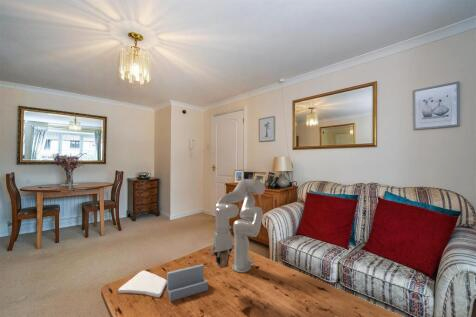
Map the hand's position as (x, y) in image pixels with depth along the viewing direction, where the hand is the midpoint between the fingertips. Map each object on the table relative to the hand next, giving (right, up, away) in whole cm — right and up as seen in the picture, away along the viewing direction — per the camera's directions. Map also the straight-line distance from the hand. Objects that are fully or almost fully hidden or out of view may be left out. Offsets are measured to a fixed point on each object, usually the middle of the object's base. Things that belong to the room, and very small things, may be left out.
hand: (222, 261), depth 116 cm
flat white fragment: (-42, -15, +3) cm, 45 cm away
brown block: (0, -2, 0) cm, 2 cm away
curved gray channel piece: (-19, -15, -2) cm, 24 cm away
